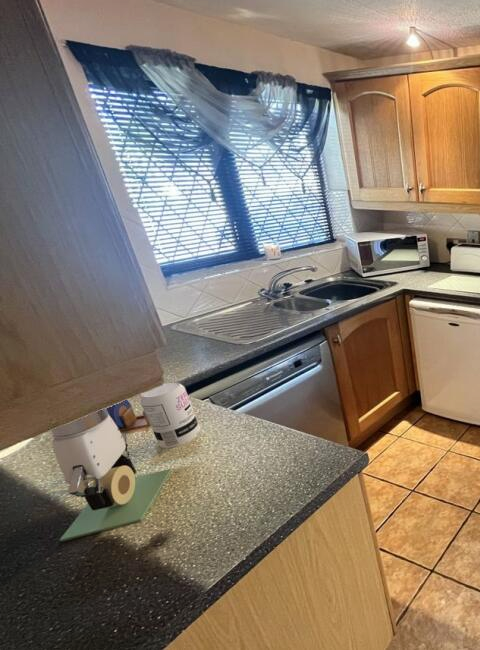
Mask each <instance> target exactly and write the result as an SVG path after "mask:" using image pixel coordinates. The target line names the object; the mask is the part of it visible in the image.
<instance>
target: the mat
mask: <svg viewBox="0 0 480 650" xmlns="http://www.w3.org/2000/svg"><path fill="white" fill-rule="evenodd" d="M171 472H172V469H171V468H169V469H165V470H160V471H155V472H152V473H147V474H143V475H139V476H135V489H134V493H133V495H132V497H131V499H130V500H129V501H128V502H127V503H125V504H123V505H119V506H114V507H110V508H106V509H98V510H92V509H91V507H90V506H89V504H88V503H87V504H86V505H85V506H84V508H83V509H82V510H81V512H80V513H79V514H78V515H77V517H76V518H75V519H74V521H73V522H72V523H71V524H70V525H69V527H68V528H67V530H66V531H65V532H64V534H62V536H61V537H60V539H59V542H60V543H62V542H65V541H69V540H73V539H77V538H80V537H84V536H89V535H92V534H96V533H97V534H98V533H100V532H103V531H104V532H105V531H107V530H112V529H116V528H119V527H124V526H127V525H130V524H134V523H135V524H136V523H139V522H142V521H143V519H144V518H145V516H146V515H147V512H148V511H149V508H151V506H152V504H153V502H154V501H155V499H156V497H157V495H158V494H159V492H160V491H161V488H162V487H163V486H164V484H165V482H166V481H167V479H168V477H169V476H170V474H171Z"/></svg>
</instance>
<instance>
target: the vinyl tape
mask: <svg viewBox="0 0 480 650" xmlns="http://www.w3.org/2000/svg"><path fill="white" fill-rule="evenodd" d="M129 407H132V404H131V403H130V401H129V400H128V399H126V400H125V401H123V402H121V403H119V404H116V405H113V406H112V407H109V408H107V411H108V414H109V416H110V417H111V418H112V420H113V421H114V423H115V424H116V426H117V427H118V428H124V427H126V425H125V423H124V421H123V419H122V415H123V414H124V413H125V412H126V410H127V409H128V408H129Z"/></svg>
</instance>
